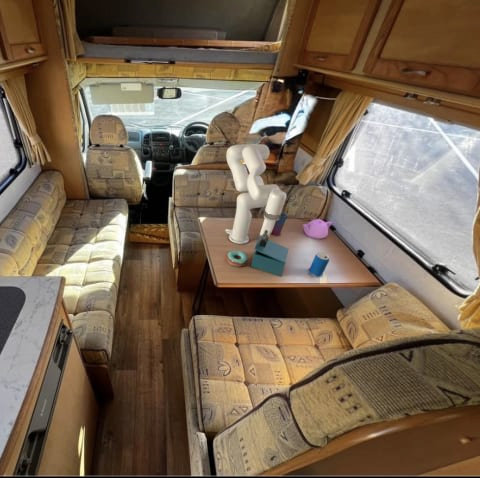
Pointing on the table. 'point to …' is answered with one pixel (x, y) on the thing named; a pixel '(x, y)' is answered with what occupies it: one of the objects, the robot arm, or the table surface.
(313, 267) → the beverage can
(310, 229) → the teapot
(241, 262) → the donut
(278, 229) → the cup
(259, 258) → the cool box
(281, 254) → the cool box lid
